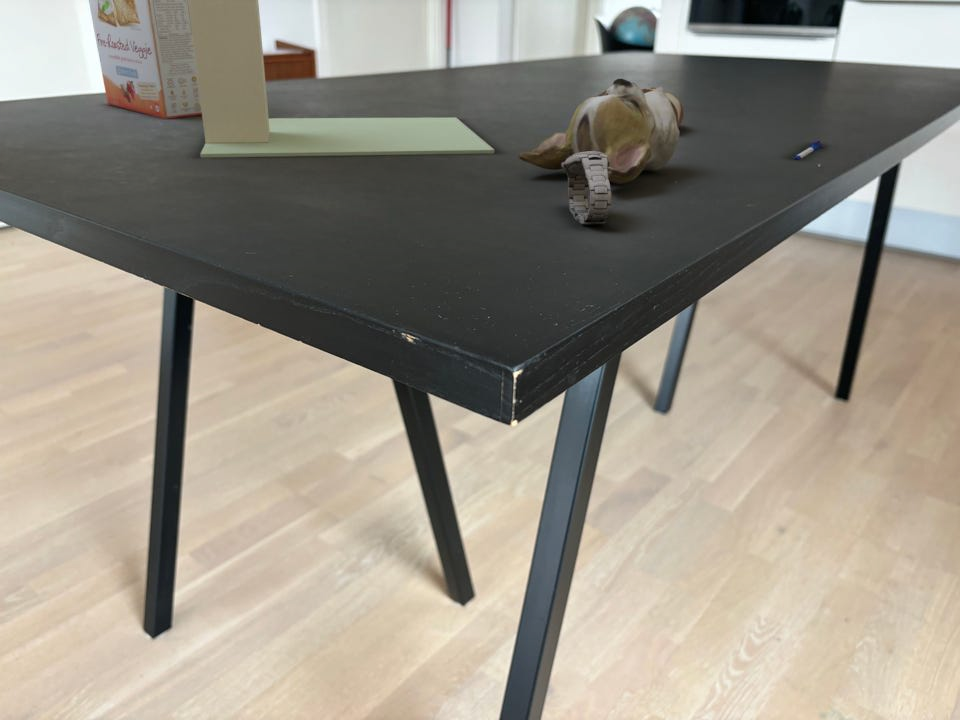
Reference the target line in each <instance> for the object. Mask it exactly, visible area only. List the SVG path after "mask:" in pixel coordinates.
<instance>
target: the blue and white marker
mask: <svg viewBox="0 0 960 720" xmlns="http://www.w3.org/2000/svg"><path fill="white" fill-rule="evenodd" d="M811 144H812V145H811V146H809V147H807V148H806V149H805V150H803V151H801V152H800V153H798V154H796V155H795V156H794V158H793V160H796V161H798V160H801V159H803V158H805V157H807V156H808V155H809V154H811V153H813V152H815V151H816V150H818V149H821V147H822V143H821V140H816V141H814V142H812V143H811Z"/></svg>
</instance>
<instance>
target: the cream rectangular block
mask: <svg viewBox="0 0 960 720" xmlns="http://www.w3.org/2000/svg"><path fill="white" fill-rule="evenodd" d="M259 5H260V4H259V0H188V6H189V14H190V22H191V30H192V38H193V46H194V54H195V62H196V70H197V78H198V86H199V95H200V103H201V111H202V115H201V118H202V126H203V133H204V142H205V143H266V142H269V134H270V128H269V117H270V116H269V107H268V106H269V105H268V95H267V84H266V73H265V71H266V70H265V60H264V52H263V51H264V49H263V39H262V28H261V27H262V26H261V15H260V6H259Z"/></svg>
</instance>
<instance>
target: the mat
mask: <svg viewBox="0 0 960 720" xmlns="http://www.w3.org/2000/svg"><path fill="white" fill-rule="evenodd" d="M269 128H270V134H269V142H266V143H206V142H205V143H204V145H203V148H202V150H201V151H200V153H199V155H200V159H202V158H259V157H260V158H261V157H263V158H267V157H334V156H337V157H339V156H340V157H341V156H342V157H343V156H400V155H402V156H406V155H407V156H408V155H411V156H412V155H464V154H465V155H469V154H470V155H471V154H473V155H475V154H495V149H494V148H493V147H492V146H491V145H490V144H488V143H487V142H486V141H485V140H484V139H482V137H480V136H478V134H477V133H475V132H474V131H473V130H471V128H469V127H468V126H467V125H466V124H465V123H463V122H462V121H461V120H460V119H458V117H271V118H269Z"/></svg>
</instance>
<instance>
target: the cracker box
mask: <svg viewBox="0 0 960 720" xmlns="http://www.w3.org/2000/svg"><path fill="white" fill-rule="evenodd" d="M88 4H89V9H90V15H91V20H92V27H93V32H94V37H95V42H96V43H95V44H96V48H97V53H98V59H99V63H100V69H101V74H102V80H103V85H104V91H105V95H106V101H107V105H109V106H113V107H116V108H121V109H125V110H128V111H131V112H136V113H139V114H143V115H148V116H152V117H156V118H160V119H164V120H170V119H178V118H186V117H187V118H188V117H194V116H202V111H201V103H200V95H199V86H198V78H197V70H196V62H195V54H194V46H193V38H192V30H191V22H190V14H189V6H188V0H88Z"/></svg>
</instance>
